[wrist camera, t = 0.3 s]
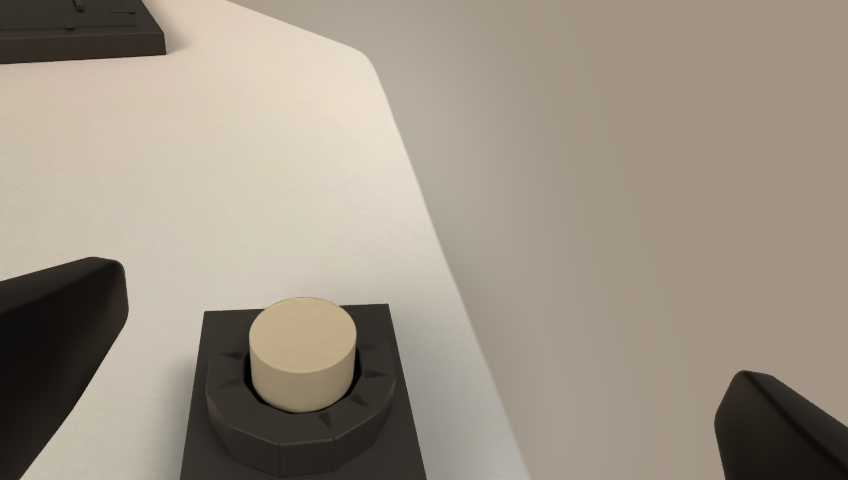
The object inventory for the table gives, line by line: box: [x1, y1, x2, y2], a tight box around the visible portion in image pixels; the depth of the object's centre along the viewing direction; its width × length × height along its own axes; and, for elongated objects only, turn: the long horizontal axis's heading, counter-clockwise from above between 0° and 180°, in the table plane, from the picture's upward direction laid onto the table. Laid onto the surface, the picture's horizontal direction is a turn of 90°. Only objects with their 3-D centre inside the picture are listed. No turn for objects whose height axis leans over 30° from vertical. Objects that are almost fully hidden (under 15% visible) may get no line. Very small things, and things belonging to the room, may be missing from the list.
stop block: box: [180, 304, 427, 480], centre depth 23 cm, size 10×8×6 cm
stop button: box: [249, 297, 356, 413], centre depth 20 cm, size 4×4×2 cm
